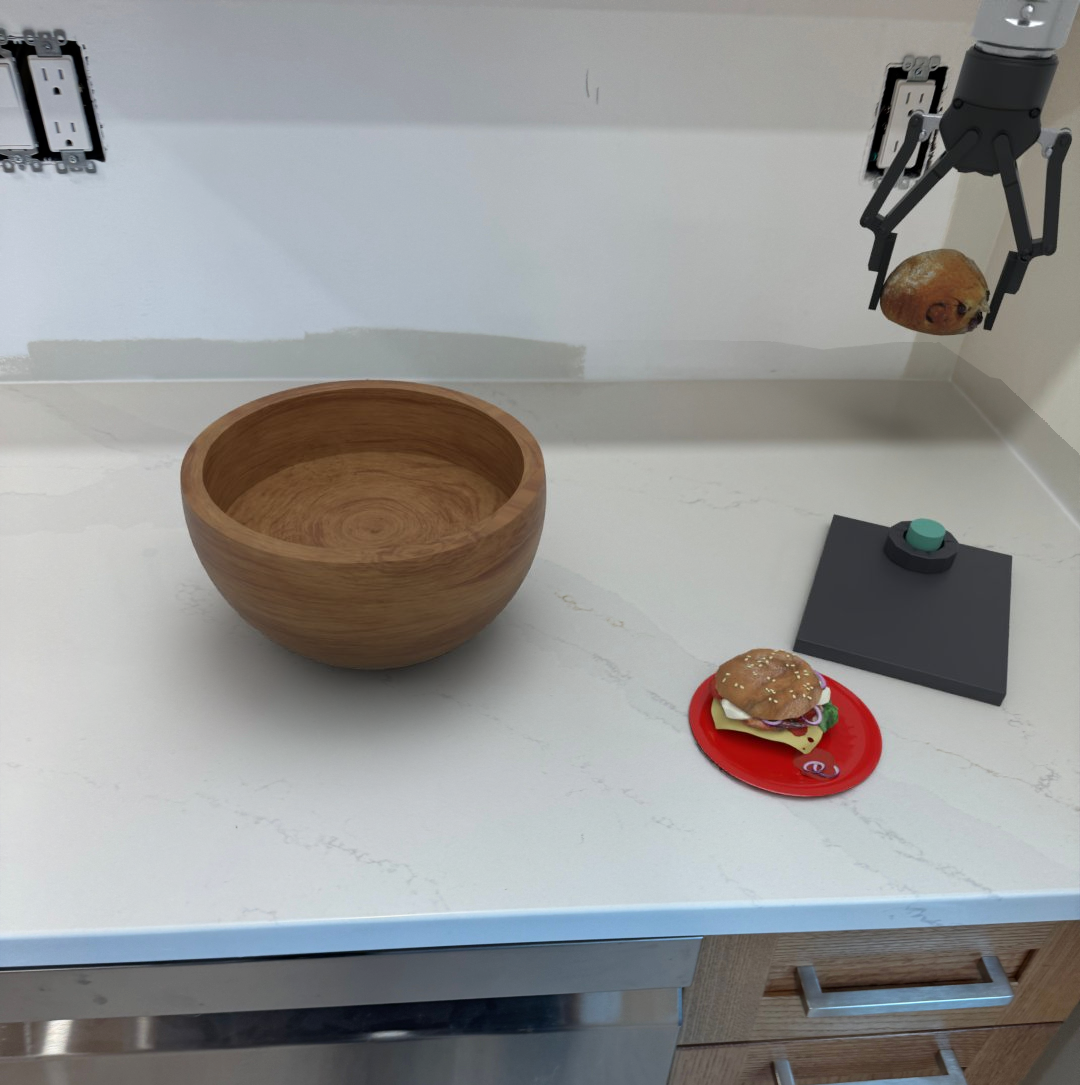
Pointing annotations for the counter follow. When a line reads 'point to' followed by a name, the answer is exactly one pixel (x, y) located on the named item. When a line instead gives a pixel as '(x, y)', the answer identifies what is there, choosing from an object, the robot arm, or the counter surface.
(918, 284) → the bread roll
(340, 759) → the counter surface
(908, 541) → the button
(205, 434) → the bowl
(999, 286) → the robot arm
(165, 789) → the counter surface
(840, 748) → the hamburger
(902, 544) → the scale
